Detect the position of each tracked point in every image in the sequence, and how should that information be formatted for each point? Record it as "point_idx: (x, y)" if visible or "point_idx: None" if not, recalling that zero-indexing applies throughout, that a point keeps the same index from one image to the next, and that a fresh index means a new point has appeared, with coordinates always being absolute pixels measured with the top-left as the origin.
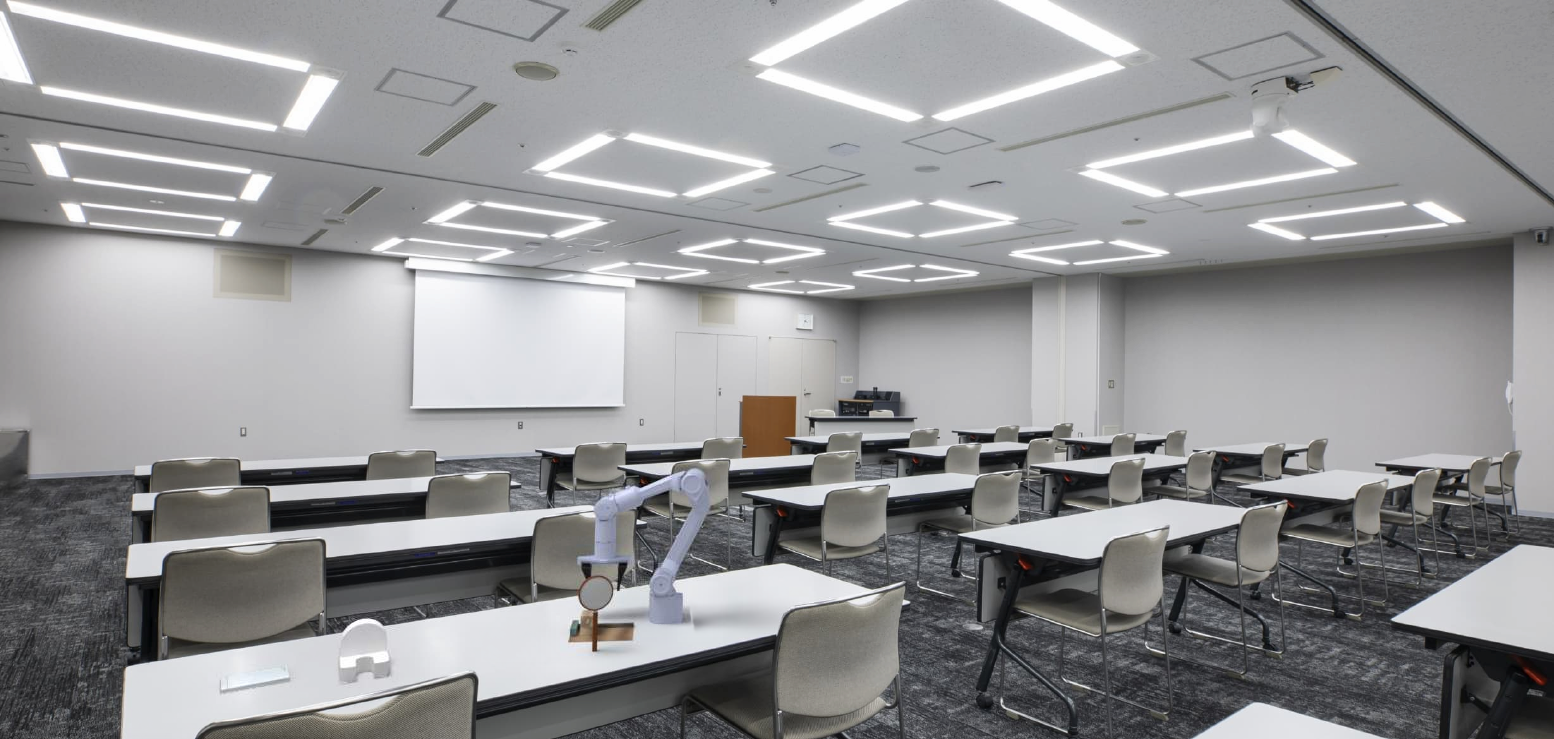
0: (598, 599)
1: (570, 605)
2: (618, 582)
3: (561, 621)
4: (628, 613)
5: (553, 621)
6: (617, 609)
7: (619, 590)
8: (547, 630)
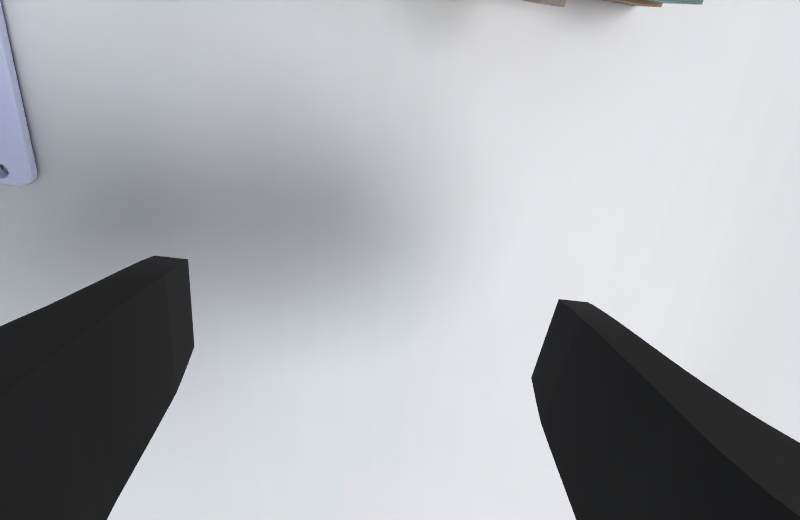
0: None
1: (533, 500)
2: (88, 313)
3: (643, 282)
4: (208, 347)
5: (690, 291)
6: (282, 418)
7: (146, 261)
8: (791, 120)
